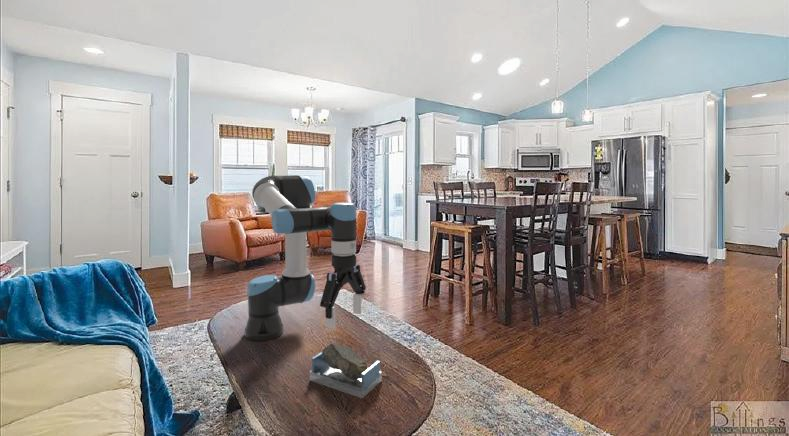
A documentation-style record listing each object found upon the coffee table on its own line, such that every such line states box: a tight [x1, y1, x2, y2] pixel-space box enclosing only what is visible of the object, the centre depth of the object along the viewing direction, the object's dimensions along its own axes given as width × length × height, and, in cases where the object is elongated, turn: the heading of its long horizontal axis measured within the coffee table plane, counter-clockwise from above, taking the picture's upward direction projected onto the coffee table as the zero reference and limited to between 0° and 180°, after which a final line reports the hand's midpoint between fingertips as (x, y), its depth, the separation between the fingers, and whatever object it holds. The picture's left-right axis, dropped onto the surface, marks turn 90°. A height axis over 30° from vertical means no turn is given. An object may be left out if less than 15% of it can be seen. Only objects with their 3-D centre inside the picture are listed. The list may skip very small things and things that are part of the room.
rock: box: [321, 342, 369, 380], centre depth 122 cm, size 17×7×10 cm
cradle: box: [309, 351, 383, 399], centre depth 122 cm, size 20×11×7 cm, turn 61°
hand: (344, 320), depth 120 cm, fingers open, 13 cm apart
